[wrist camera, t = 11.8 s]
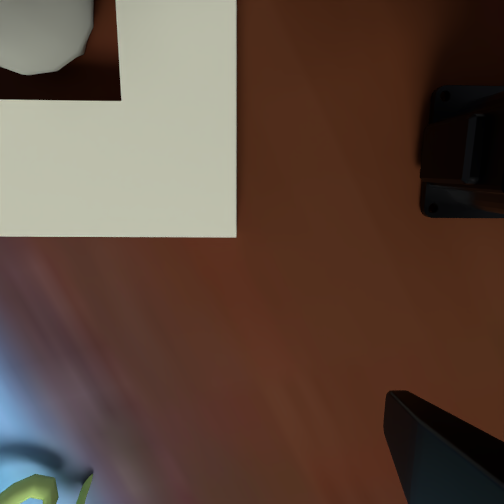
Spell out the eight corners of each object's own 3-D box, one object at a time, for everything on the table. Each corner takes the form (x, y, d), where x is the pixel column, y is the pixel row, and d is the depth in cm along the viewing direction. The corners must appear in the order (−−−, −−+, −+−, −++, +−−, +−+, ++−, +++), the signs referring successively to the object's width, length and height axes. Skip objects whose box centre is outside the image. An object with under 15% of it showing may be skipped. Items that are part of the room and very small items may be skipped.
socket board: (236, -234, 17) (236, -304, 14) (236, 229, 21) (236, 237, 18) (-198, -250, 16) (-276, -326, 14) (-109, 227, 20) (-157, 235, 18)
